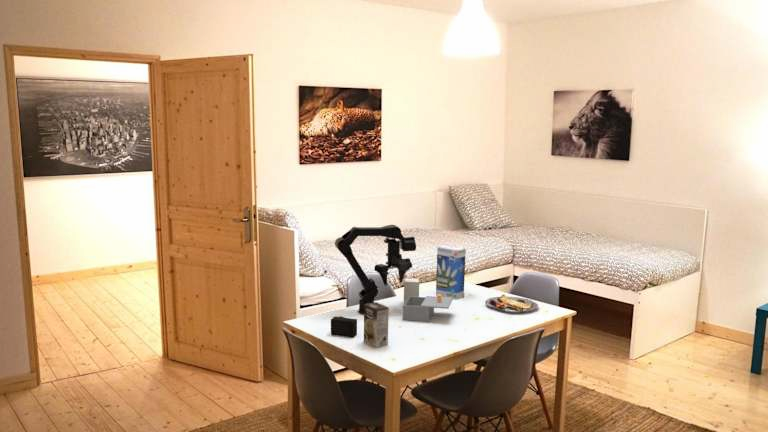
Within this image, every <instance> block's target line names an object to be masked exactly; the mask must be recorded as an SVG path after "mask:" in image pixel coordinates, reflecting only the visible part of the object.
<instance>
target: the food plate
mask: <svg viewBox="0 0 768 432" xmlns="http://www.w3.org/2000/svg"><path fill="white" fill-rule="evenodd" d="M485 305H487V306H488V307H491V308H494V309H495V310H497V311H500V312H508V313H523V312H528V311H529V312H530V311H533V310H536V309H538V307H539V304H538V302H535V301H533V300H531V299H528V298H523V297H517V296H507V295H505V294H502V295H501V296H496V297H490V298H487V300H485Z"/></svg>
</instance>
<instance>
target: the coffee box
mask: <svg viewBox="0 0 768 432" xmlns="http://www.w3.org/2000/svg"><path fill="white" fill-rule="evenodd" d="M389 311H390V309H389V306H386V305H384V304H381V303H378V302H376V301H374V303H368V304H364V314H363V342H364V343H366V344H368V345H370V346H372V347H373V348H375V349H378V348H383V347H386V346H389V315H390V313H389Z"/></svg>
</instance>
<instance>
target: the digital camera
mask: <svg viewBox="0 0 768 432" xmlns="http://www.w3.org/2000/svg"><path fill="white" fill-rule="evenodd" d="M330 335H331V336H336V335H337V337H343V336H344V338H355V337H356V336H357V335H358V319H357V318H349V317H343V316H333V317H332V318H331V319H330Z"/></svg>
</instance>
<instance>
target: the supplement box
mask: <svg viewBox="0 0 768 432" xmlns="http://www.w3.org/2000/svg"><path fill="white" fill-rule="evenodd" d="M409 296H413V297H420V278H403V304H404V303H405V302H406V300H407V299H408V297H409Z"/></svg>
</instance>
